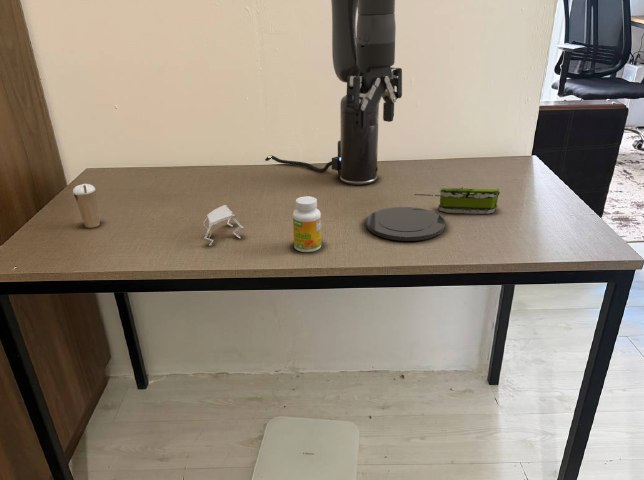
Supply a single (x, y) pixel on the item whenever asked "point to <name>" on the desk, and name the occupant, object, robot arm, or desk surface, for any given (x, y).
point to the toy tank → (468, 200)
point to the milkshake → (87, 204)
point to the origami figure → (218, 216)
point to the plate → (405, 223)
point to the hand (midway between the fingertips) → (374, 124)
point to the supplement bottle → (307, 225)
